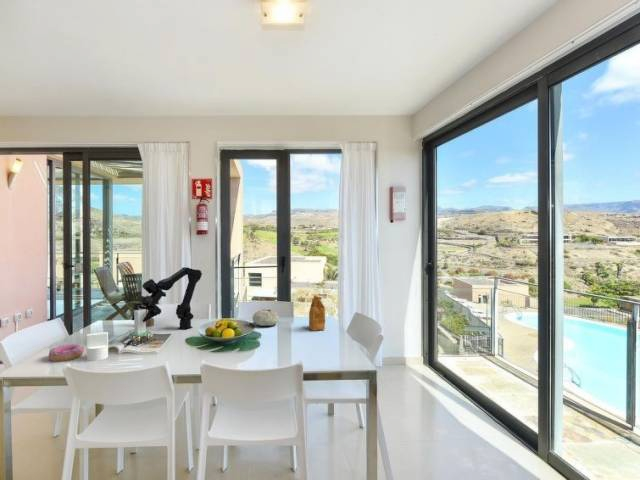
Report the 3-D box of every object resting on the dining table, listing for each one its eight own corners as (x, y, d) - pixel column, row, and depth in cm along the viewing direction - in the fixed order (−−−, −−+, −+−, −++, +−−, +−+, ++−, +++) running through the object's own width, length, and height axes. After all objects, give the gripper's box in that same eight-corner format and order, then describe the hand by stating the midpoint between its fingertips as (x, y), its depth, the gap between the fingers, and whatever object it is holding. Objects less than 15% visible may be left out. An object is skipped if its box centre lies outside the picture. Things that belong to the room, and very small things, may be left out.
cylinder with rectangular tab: (85, 362, 172) (85, 337, 171) (88, 356, 180) (87, 332, 179) (107, 359, 176) (107, 334, 176) (108, 353, 184) (108, 330, 184)
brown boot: (154, 324, 241) (154, 298, 241) (151, 326, 237) (151, 299, 237) (140, 324, 241) (140, 298, 241) (137, 326, 237) (137, 299, 236)
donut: (78, 350, 188) (78, 341, 188) (88, 357, 179) (88, 347, 179) (44, 358, 177) (44, 348, 177) (53, 365, 168) (53, 354, 168)
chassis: (142, 337, 212) (142, 330, 212) (156, 340, 207) (156, 333, 207) (123, 342, 201) (123, 335, 201) (137, 346, 196) (137, 338, 196)
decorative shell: (277, 328, 234) (277, 313, 234) (250, 328, 235) (250, 313, 234) (280, 321, 252) (280, 307, 252) (255, 321, 252) (255, 307, 252)
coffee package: (321, 325, 242) (322, 293, 241) (326, 330, 230) (326, 296, 229) (307, 326, 240) (307, 294, 239) (311, 331, 227) (311, 297, 227)
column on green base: (141, 331, 209) (141, 307, 209) (150, 333, 206) (150, 309, 206) (129, 335, 202) (128, 310, 202) (138, 337, 199) (138, 312, 198)
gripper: (135, 288, 211) (117, 311, 202) (157, 291, 203) (139, 314, 193) (147, 300, 218) (130, 321, 209) (168, 302, 210) (152, 325, 200)
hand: (137, 320), depth 203 cm, fingers open, 9 cm apart
